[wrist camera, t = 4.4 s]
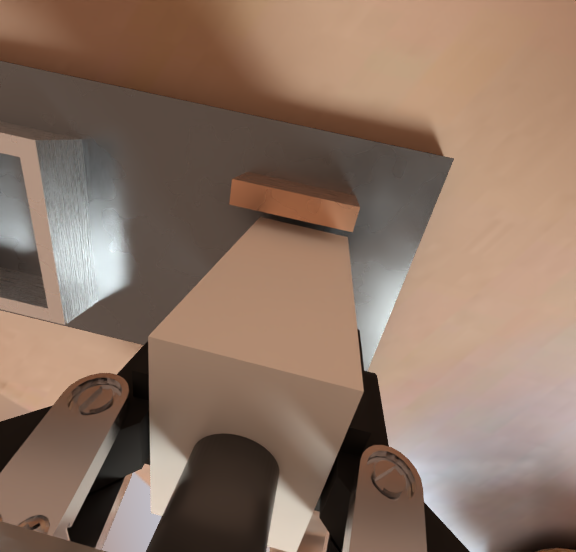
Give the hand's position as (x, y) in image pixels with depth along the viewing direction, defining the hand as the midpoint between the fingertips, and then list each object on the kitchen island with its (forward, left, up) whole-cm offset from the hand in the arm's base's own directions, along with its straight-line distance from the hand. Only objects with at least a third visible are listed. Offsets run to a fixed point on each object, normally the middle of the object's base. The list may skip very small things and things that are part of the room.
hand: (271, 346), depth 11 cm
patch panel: (+7, 0, -7) cm, 10 cm away
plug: (0, 0, -5) cm, 5 cm away
